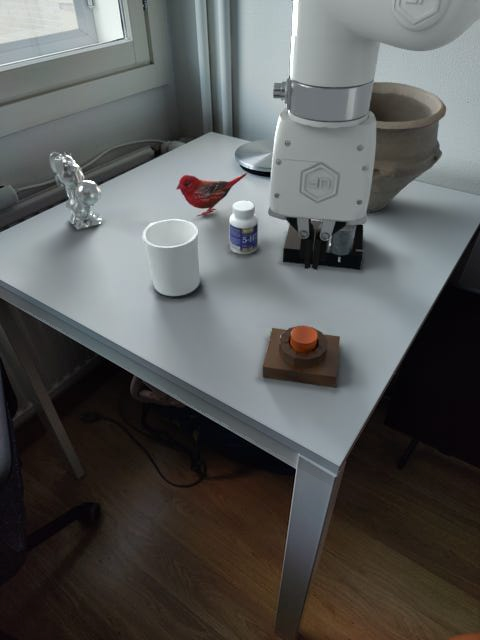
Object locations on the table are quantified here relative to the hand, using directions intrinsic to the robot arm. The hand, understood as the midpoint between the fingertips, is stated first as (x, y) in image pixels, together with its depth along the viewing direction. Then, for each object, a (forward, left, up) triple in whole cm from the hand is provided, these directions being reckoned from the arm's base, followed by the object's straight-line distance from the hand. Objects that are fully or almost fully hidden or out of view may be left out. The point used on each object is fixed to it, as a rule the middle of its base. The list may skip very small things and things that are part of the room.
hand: (311, 262), depth 55 cm
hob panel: (-1, -29, -17) cm, 33 cm away
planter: (-9, -50, -17) cm, 54 cm away
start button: (0, 0, -13) cm, 13 cm away
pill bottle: (+14, -28, -17) cm, 36 cm away
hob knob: (-4, -26, -14) cm, 30 cm away
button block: (0, 0, -17) cm, 17 cm away
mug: (+24, -15, -17) cm, 33 cm away
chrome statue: (+48, -31, -17) cm, 60 cm away
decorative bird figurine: (+23, -41, -17) cm, 50 cm away
